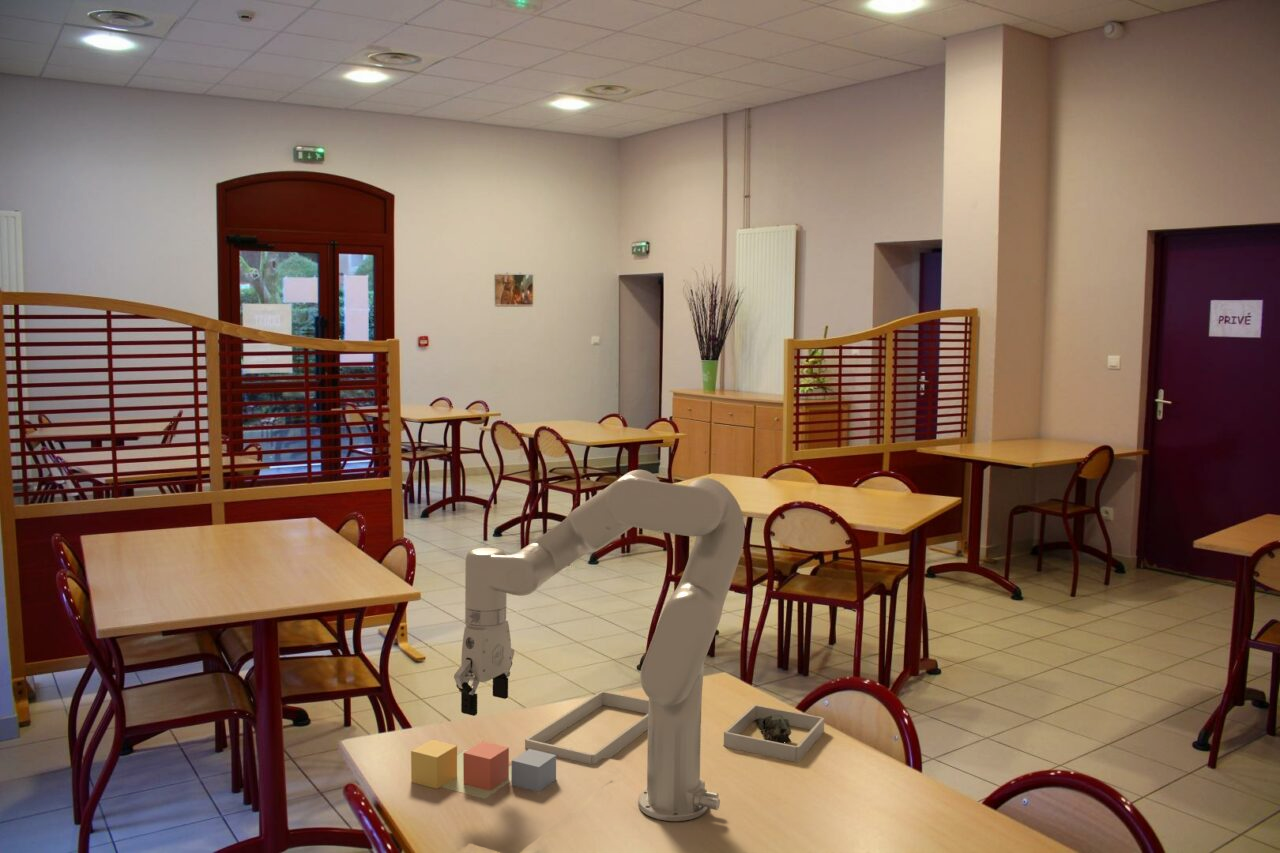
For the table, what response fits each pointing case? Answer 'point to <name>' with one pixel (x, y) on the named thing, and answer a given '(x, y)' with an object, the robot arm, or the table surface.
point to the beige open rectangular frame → (581, 711)
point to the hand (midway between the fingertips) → (485, 705)
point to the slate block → (533, 770)
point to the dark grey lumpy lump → (775, 728)
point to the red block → (486, 765)
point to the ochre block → (434, 764)
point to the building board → (459, 785)
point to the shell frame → (770, 747)
